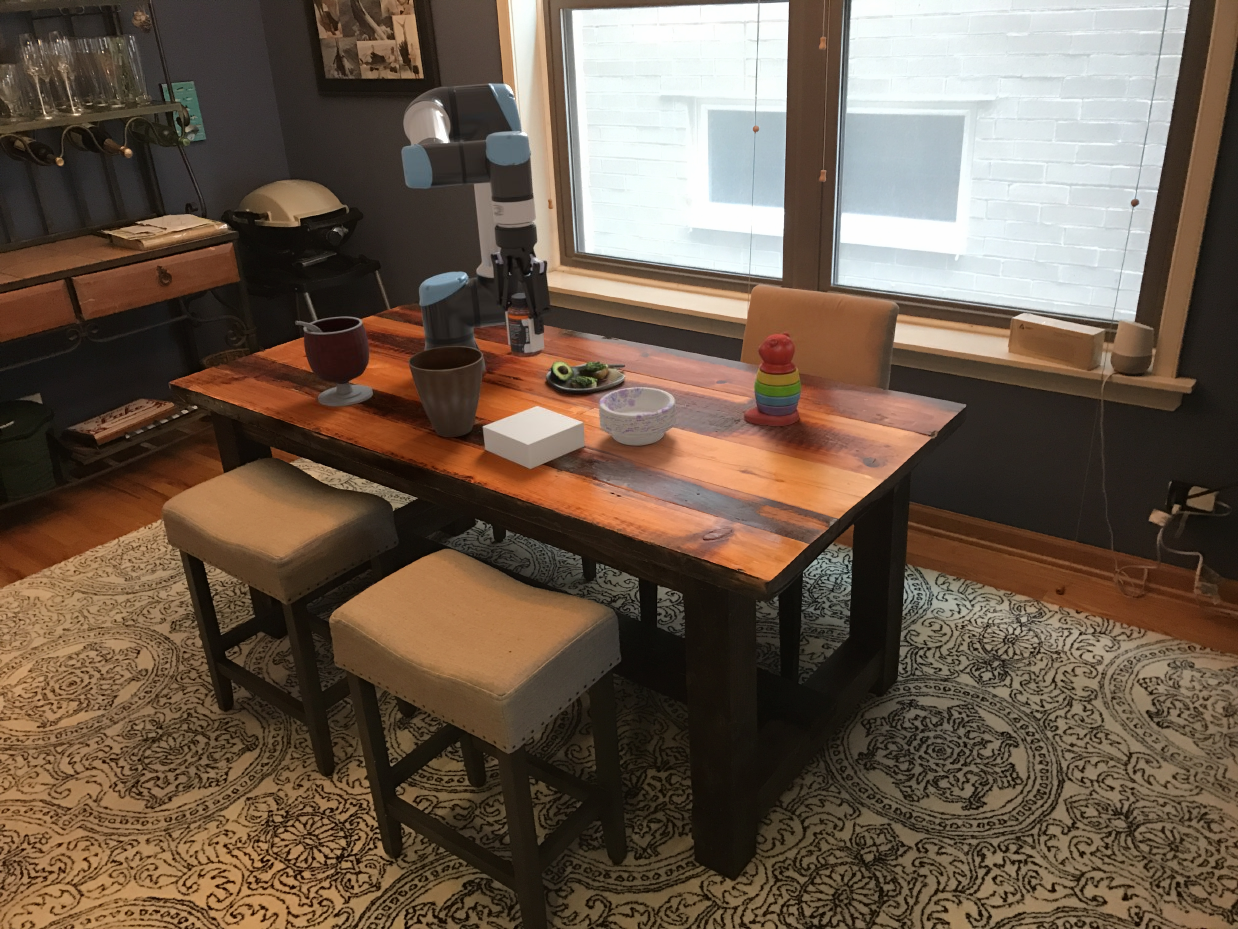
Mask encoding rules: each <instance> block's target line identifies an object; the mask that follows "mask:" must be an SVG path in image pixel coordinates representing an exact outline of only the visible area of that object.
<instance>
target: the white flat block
mask: <svg viewBox="0 0 1238 929" xmlns="http://www.w3.org/2000/svg"><path fill="white" fill-rule="evenodd" d="M482 432H483V440H484V449H485V451H487V452H490V453H491V454H494V455H496V456H499V457H501V458H503V459H506V460H508V461H510V462H513V463H516V464H517V465H520V466H522V467H525V468H527V469H529V470H531V469H534V468H536V467H538V466H541V465H543V464H545V463H547V462H550V461H554V460H555V459H557V458H560V457H562V456H565V455H567V454H570V453H571V452H573V451H576V450H579V449H581V448H584V447H585V446H586V440H585V423H584V422H583V421H581V420H577V419H575V418H572V417H569V416H567V415H564V414H560V413H559V412H555V411H553V410H550V409H547V408H544V407H541V406H540V405H536V406H534V407H532V408H531V407H530V408H528V409H525V410H522V411H520V412H517V413H515V414H513V415H510V416H507V417H504V418H502V419H501V418H500V419H498V420H496V421H494V422H491V423H488V424H486V425H483V426H482Z"/></svg>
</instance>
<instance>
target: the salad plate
mask: <svg viewBox="0 0 1238 929" xmlns="http://www.w3.org/2000/svg"><path fill="white" fill-rule="evenodd" d="M607 363H608V362H607V361H605V362H604V363H601V361H600V360H598V361H593V362H592V361H587V362H586V363H584V364H579V365H574V366H571V365H569V364H568V363H566V362H564V361H561V360H560V361H559V360H557V361H554V362H553V363H552V365H551V366H550V367H549V368H547V369H546V370H547V371H548V373H547V374H546V375H545V380H546V382H547V383H548V385H550V387H551V388H552V389H554V390H555V391H557V392H558V391H559V392H558V393H562V394H565V395H570V394H571V395H573V396H574V395H575V396H576V395H577V396H578V395H579V394H580V395H586V394H591V393H595V392H599V391H604V390H606V389H610V388H613V387H616V386H618V385H619V384H621V383H622V382H624V381H625V379H626V376H625V374H623V373H622V372H620V371H618V370H620V369H623V368H625V367H626V364H621V363H619V364H618V363H617V364H613V363H612V364H607ZM606 380H608V381H610V383H608V384H604V385H601V386H597V384H598V383H599V382H604V381H606Z"/></svg>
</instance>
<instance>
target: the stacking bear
mask: <svg viewBox="0 0 1238 929" xmlns="http://www.w3.org/2000/svg"><path fill="white" fill-rule="evenodd" d="M795 351H796V346H795V342H794V341H793V340H792V339H791V336H790V334H789V333H788V332H787V331H784V332H783V333H782V334H781V333H779V334H778V333H775V334H771V335H769V336H767V337H766V338H765V339H764V341H763V342H762V343H761V344H760V345H759V346H758V349H757V352H758V355H759V357H760V359H761V360H762V362H760V364H759V366H758V370H757V373H756V378H755V380H754V387H753V388H754V392H753V393H754V397H755V404H756V407H753V408H750V409H748V410H747V411H746V412H744V415H743V419H744V421H745V422H749V423H751V424H755V425H760V426H767V425H768V426H769V427H784V426H788V425H792V424H795V423H796V422H798V421H799V419H800V412H799V410H798V405H799V401H800V399H801V394H802V382H801V379H800V373H799V372H800V371H799V369H798V367H797V366H796V365H795V363H794V362H793V358H794V356H795V353H796V352H795Z"/></svg>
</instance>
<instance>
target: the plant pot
mask: <svg viewBox="0 0 1238 929" xmlns="http://www.w3.org/2000/svg"><path fill="white" fill-rule="evenodd" d="M483 358H484V354H483V352H482V351H481V349H480V350H478V349H475V348H471V347H464V346H446V347H438V348H432V349H428V350H425V349H423V350H422V351H420V352H417V353H415V354H413V355H412V356H411V357H409V359H408V361H407V362H408V363H407V364H408V365H409V366H408V367H409V370H410V373H411V376H412V381H413V383H414V386H415V389H416V393H417V395H418V398H419V401H420V403H421V405H422V407H423V410H424V411H425V414H426V416H427V418H428V420H429V422H430V423H431V426H432V428H433V430H434V431H435V432H436V434H437V435H438V436H440V437H444V438H455V437H462V436H466V435H467V434H469V433H470V432H471V431H472V430H473V426H474V422H475V419H476V416H477V412H478V406H479V401H480V397H481V396H480V395H481V388H482V382H483V372H482V370H483Z"/></svg>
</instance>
